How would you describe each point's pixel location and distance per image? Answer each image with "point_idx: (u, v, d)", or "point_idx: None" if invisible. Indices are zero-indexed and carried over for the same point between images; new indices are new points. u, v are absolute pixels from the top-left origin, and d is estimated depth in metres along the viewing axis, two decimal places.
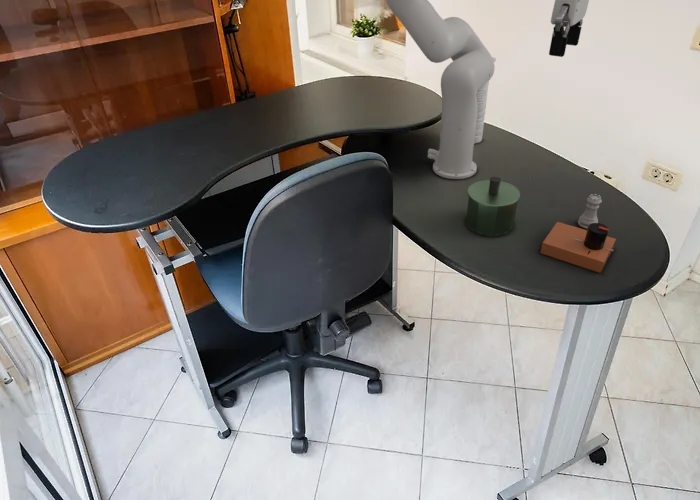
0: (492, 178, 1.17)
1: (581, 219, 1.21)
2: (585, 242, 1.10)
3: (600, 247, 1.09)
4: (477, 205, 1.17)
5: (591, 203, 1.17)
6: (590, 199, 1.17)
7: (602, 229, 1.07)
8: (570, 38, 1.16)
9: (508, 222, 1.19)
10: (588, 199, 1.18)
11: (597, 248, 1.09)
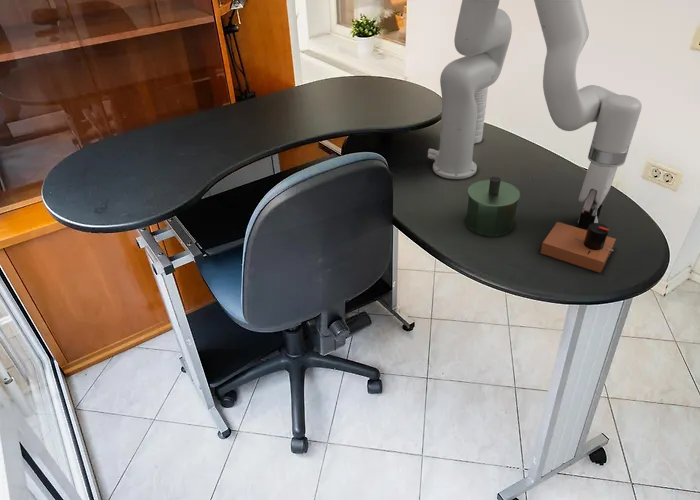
0: (492, 178, 1.17)
1: None
2: (585, 242, 1.10)
3: (600, 247, 1.09)
4: (477, 205, 1.17)
5: None
6: None
7: (602, 229, 1.07)
8: None
9: (508, 222, 1.19)
10: None
11: (597, 248, 1.09)
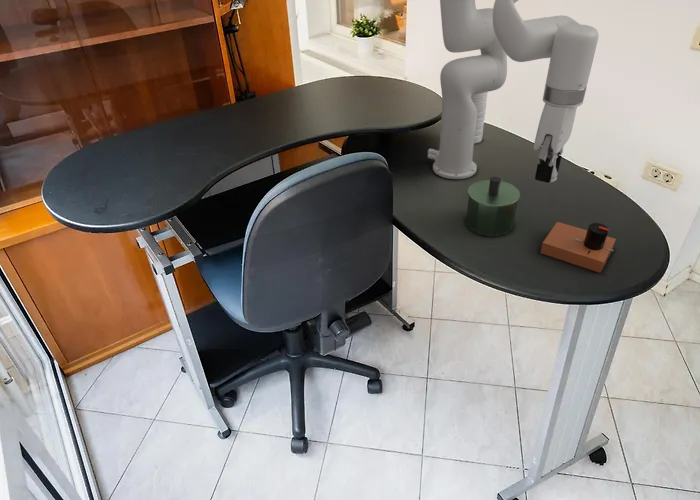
0: (492, 178, 1.17)
1: None
2: (585, 242, 1.10)
3: (600, 247, 1.09)
4: (477, 205, 1.17)
5: None
6: None
7: (602, 229, 1.07)
8: None
9: (508, 222, 1.19)
10: None
11: (597, 248, 1.09)
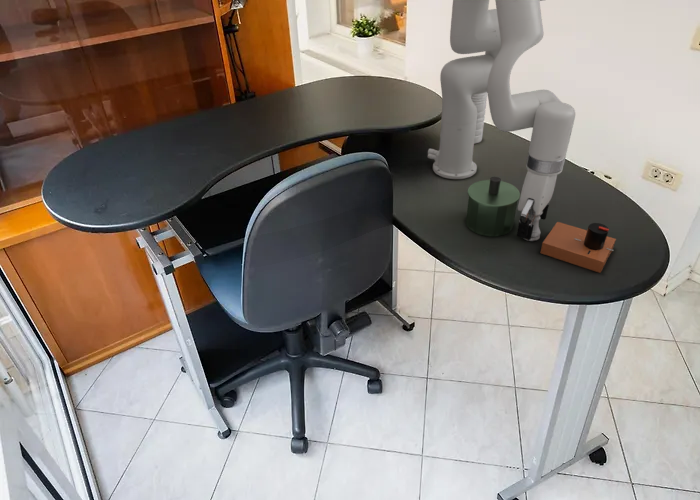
0: (492, 178, 1.17)
1: None
2: (585, 242, 1.10)
3: (600, 247, 1.09)
4: (477, 205, 1.17)
5: (531, 215, 1.14)
6: None
7: (602, 229, 1.07)
8: None
9: (508, 222, 1.19)
10: None
11: (597, 248, 1.09)
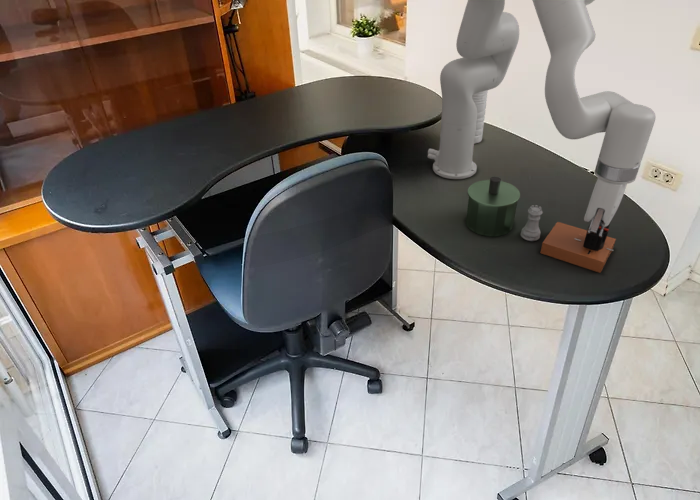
0: (492, 178, 1.17)
1: (523, 231, 1.18)
2: None
3: (600, 247, 1.09)
4: (477, 205, 1.17)
5: (531, 215, 1.14)
6: (530, 211, 1.14)
7: None
8: None
9: (508, 222, 1.19)
10: (529, 210, 1.15)
11: None
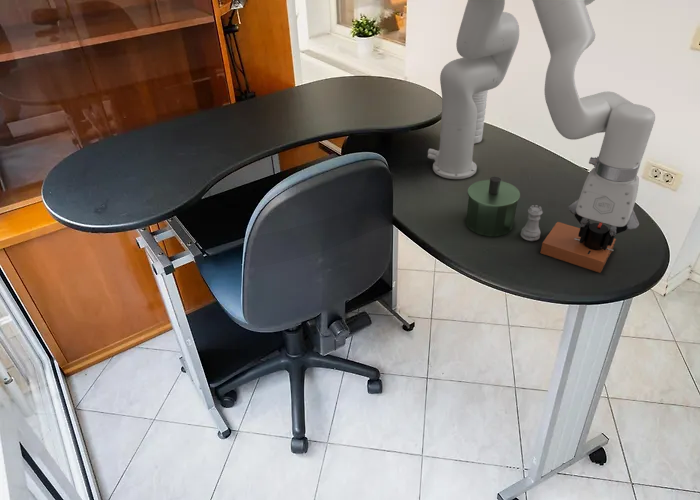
0: (492, 178, 1.17)
1: (523, 231, 1.18)
2: (598, 247, 1.09)
3: None
4: (477, 205, 1.17)
5: (531, 215, 1.14)
6: (530, 211, 1.14)
7: (601, 226, 1.08)
8: (585, 235, 1.10)
9: (508, 222, 1.19)
10: (529, 210, 1.15)
11: None
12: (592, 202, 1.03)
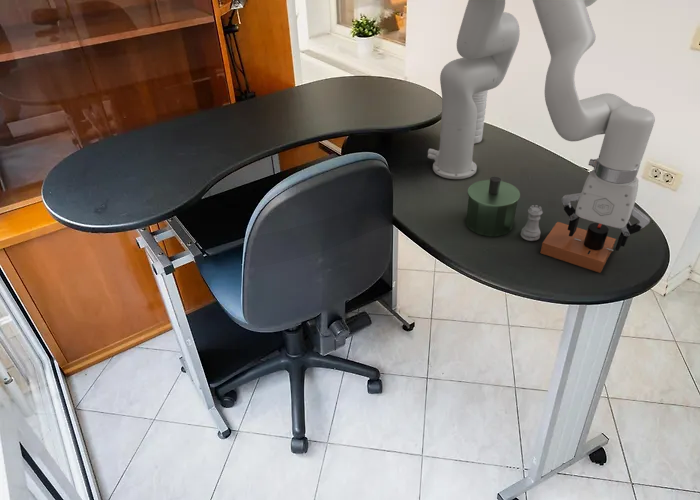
0: (492, 178, 1.17)
1: (523, 231, 1.18)
2: (598, 247, 1.09)
3: None
4: (477, 205, 1.17)
5: (531, 215, 1.14)
6: (530, 211, 1.14)
7: (601, 226, 1.08)
8: (575, 228, 1.11)
9: (508, 222, 1.19)
10: (529, 210, 1.15)
11: None
12: (592, 204, 1.03)
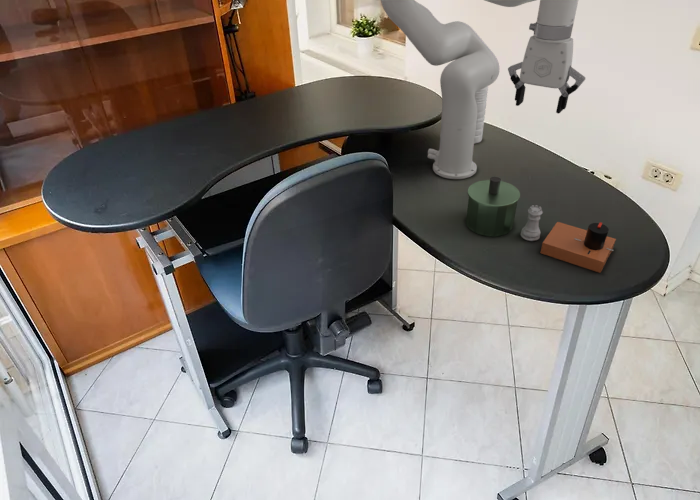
0: (492, 178, 1.17)
1: (523, 231, 1.18)
2: (598, 247, 1.09)
3: None
4: (477, 205, 1.17)
5: (531, 215, 1.14)
6: (530, 211, 1.14)
7: (601, 226, 1.08)
8: (521, 98, 1.21)
9: (508, 222, 1.19)
10: (529, 210, 1.15)
11: None
12: (533, 66, 1.13)
